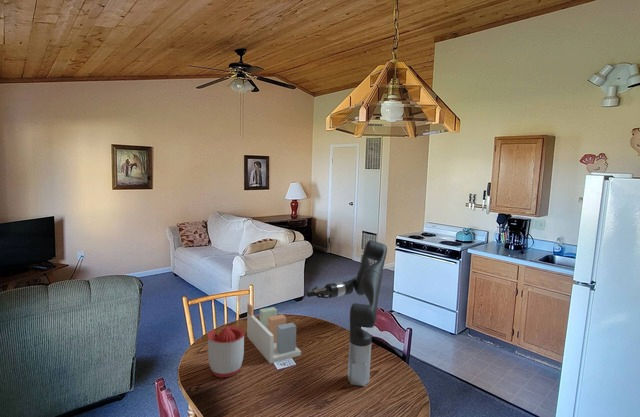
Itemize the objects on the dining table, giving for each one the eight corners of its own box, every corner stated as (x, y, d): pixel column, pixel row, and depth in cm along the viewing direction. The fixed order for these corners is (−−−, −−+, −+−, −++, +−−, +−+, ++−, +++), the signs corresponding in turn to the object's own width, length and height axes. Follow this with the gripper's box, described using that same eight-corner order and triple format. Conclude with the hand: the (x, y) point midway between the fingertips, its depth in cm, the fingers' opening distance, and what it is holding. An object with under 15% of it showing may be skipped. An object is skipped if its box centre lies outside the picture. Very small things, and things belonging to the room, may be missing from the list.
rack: (275, 330, 204) (275, 298, 202) (300, 355, 178) (302, 319, 176) (247, 336, 196) (247, 303, 194) (269, 363, 170) (270, 325, 168)
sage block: (273, 328, 201) (273, 306, 200) (276, 331, 197) (277, 309, 196) (259, 331, 197) (259, 309, 196) (262, 334, 193) (262, 312, 192)
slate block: (291, 345, 182) (292, 322, 181) (295, 349, 179) (296, 325, 177) (276, 349, 178) (277, 325, 177) (280, 353, 175) (280, 329, 173)
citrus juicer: (232, 356, 175) (232, 315, 173) (250, 372, 162) (251, 328, 160) (200, 366, 165) (199, 323, 163) (216, 385, 152) (216, 338, 150)
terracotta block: (281, 336, 192) (282, 314, 190) (285, 340, 188) (286, 317, 187) (267, 340, 188) (267, 317, 186) (270, 343, 184) (271, 320, 183)
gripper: (328, 279, 208) (301, 283, 199) (342, 286, 197) (313, 291, 188) (328, 292, 209) (301, 297, 200) (341, 300, 198) (313, 306, 189)
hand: (307, 294), depth 194 cm, fingers closed
